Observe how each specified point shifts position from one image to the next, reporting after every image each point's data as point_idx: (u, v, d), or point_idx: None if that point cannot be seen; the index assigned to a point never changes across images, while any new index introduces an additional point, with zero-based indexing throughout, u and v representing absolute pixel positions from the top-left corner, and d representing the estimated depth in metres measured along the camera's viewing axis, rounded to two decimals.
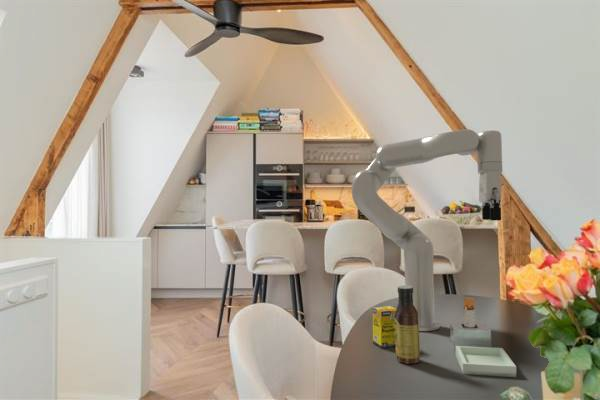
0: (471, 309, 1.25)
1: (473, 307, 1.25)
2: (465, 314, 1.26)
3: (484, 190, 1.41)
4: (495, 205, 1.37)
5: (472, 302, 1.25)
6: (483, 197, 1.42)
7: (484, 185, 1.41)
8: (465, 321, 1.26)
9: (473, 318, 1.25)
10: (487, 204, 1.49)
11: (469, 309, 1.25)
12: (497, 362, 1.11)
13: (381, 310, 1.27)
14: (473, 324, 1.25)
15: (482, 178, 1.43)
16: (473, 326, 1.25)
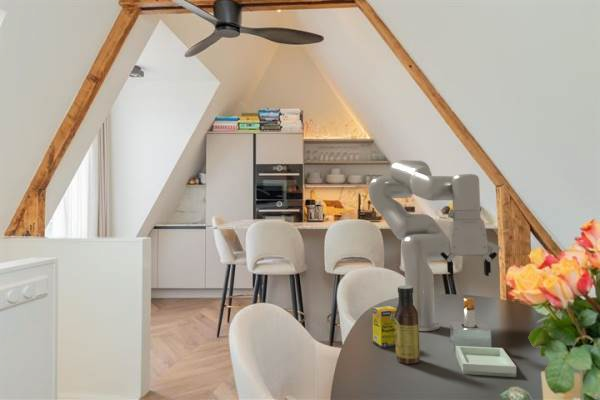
0: (471, 309, 1.25)
1: (473, 307, 1.25)
2: (465, 314, 1.26)
3: (480, 242, 1.23)
4: None
5: (472, 302, 1.25)
6: (477, 250, 1.23)
7: (480, 236, 1.23)
8: (465, 321, 1.26)
9: (473, 318, 1.25)
10: (449, 257, 1.28)
11: (469, 309, 1.25)
12: (497, 362, 1.11)
13: (381, 310, 1.27)
14: (473, 324, 1.25)
15: (473, 228, 1.24)
16: (473, 326, 1.25)
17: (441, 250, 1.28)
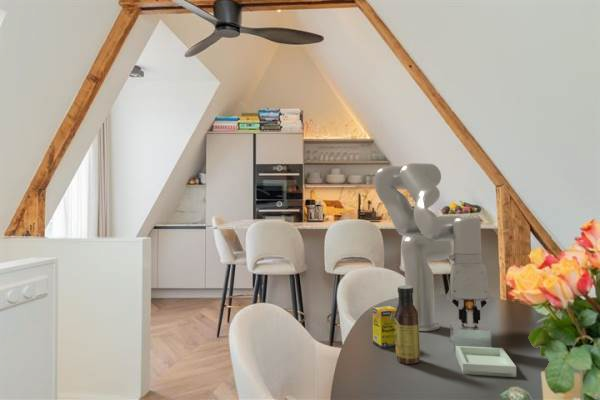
0: (471, 309, 1.25)
1: (473, 307, 1.25)
2: (465, 314, 1.26)
3: (481, 286, 1.23)
4: None
5: (472, 302, 1.25)
6: (477, 294, 1.23)
7: (481, 280, 1.23)
8: (465, 321, 1.26)
9: (473, 318, 1.25)
10: None
11: (469, 309, 1.25)
12: (497, 362, 1.11)
13: (381, 310, 1.27)
14: (473, 324, 1.25)
15: (474, 272, 1.24)
16: (473, 326, 1.25)
17: (450, 298, 1.27)
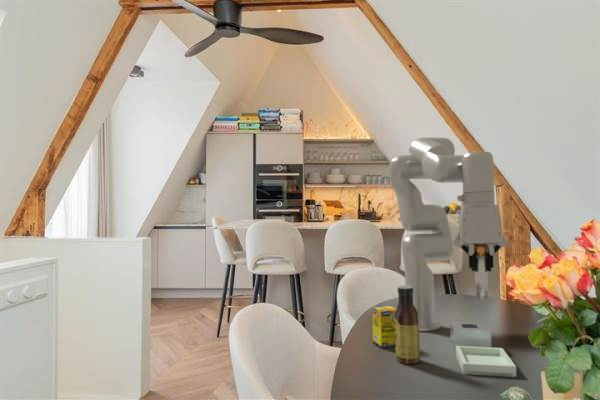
0: (483, 255, 1.11)
1: (485, 252, 1.11)
2: (476, 261, 1.11)
3: (495, 228, 1.09)
4: None
5: (484, 247, 1.11)
6: (490, 237, 1.09)
7: (495, 221, 1.09)
8: (476, 269, 1.11)
9: (485, 265, 1.11)
10: None
11: (481, 255, 1.11)
12: (497, 362, 1.11)
13: (381, 310, 1.27)
14: (485, 272, 1.11)
15: (486, 212, 1.09)
16: (485, 274, 1.11)
17: (459, 244, 1.13)
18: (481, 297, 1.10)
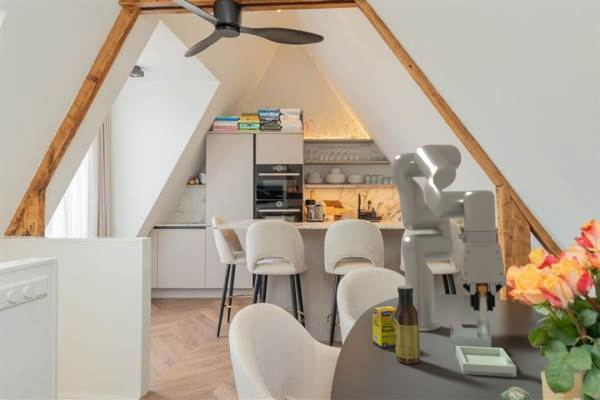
0: (485, 294, 1.10)
1: (487, 292, 1.10)
2: (478, 300, 1.11)
3: (496, 268, 1.08)
4: None
5: (486, 286, 1.10)
6: (492, 277, 1.08)
7: (496, 261, 1.08)
8: (478, 308, 1.11)
9: (487, 305, 1.10)
10: None
11: (482, 294, 1.10)
12: (497, 362, 1.11)
13: (381, 310, 1.27)
14: (487, 311, 1.10)
15: (488, 251, 1.09)
16: (487, 313, 1.10)
17: (461, 283, 1.12)
18: (483, 337, 1.10)
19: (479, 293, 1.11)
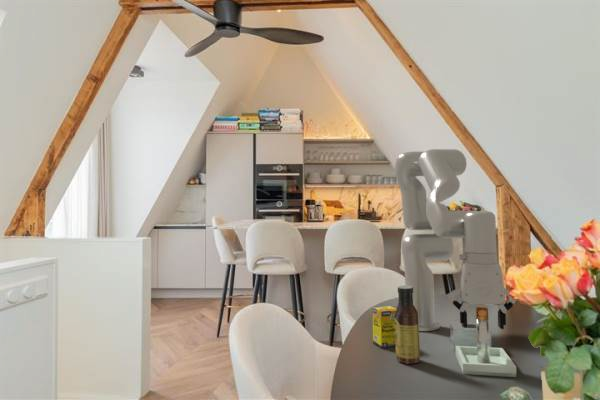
0: (485, 319, 1.10)
1: (487, 317, 1.10)
2: (478, 325, 1.11)
3: (497, 289, 1.08)
4: None
5: (486, 311, 1.10)
6: (492, 298, 1.08)
7: (497, 283, 1.08)
8: (478, 333, 1.11)
9: (487, 330, 1.10)
10: None
11: (482, 319, 1.10)
12: (497, 362, 1.11)
13: (381, 310, 1.27)
14: (487, 336, 1.10)
15: (488, 273, 1.09)
16: (487, 339, 1.10)
17: (453, 298, 1.13)
18: (483, 362, 1.10)
19: (479, 318, 1.11)
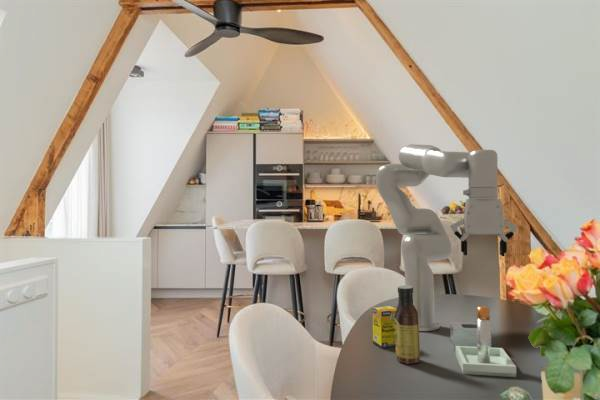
0: (486, 319, 1.10)
1: (488, 317, 1.10)
2: (479, 325, 1.11)
3: (497, 221, 1.18)
4: None
5: (487, 311, 1.10)
6: (492, 229, 1.18)
7: (497, 215, 1.18)
8: (479, 333, 1.11)
9: (488, 330, 1.10)
10: (463, 236, 1.23)
11: (483, 319, 1.10)
12: (497, 362, 1.11)
13: (381, 310, 1.27)
14: (488, 336, 1.10)
15: (489, 206, 1.18)
16: (488, 339, 1.10)
17: (455, 229, 1.23)
18: (483, 362, 1.10)
19: (480, 318, 1.11)
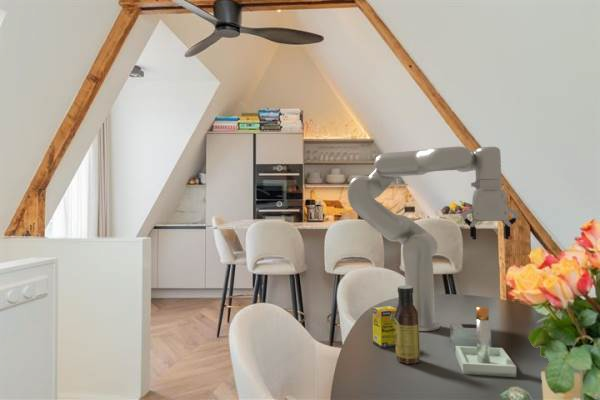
0: (485, 319, 1.10)
1: (487, 317, 1.10)
2: (478, 325, 1.11)
3: (501, 208, 1.35)
4: None
5: (486, 312, 1.10)
6: (498, 215, 1.35)
7: (501, 203, 1.35)
8: (478, 333, 1.11)
9: (487, 330, 1.10)
10: None
11: (483, 320, 1.10)
12: (497, 362, 1.11)
13: (381, 310, 1.27)
14: (487, 336, 1.10)
15: (494, 195, 1.36)
16: (487, 339, 1.10)
17: (465, 216, 1.40)
18: (483, 362, 1.10)
19: (479, 318, 1.10)
